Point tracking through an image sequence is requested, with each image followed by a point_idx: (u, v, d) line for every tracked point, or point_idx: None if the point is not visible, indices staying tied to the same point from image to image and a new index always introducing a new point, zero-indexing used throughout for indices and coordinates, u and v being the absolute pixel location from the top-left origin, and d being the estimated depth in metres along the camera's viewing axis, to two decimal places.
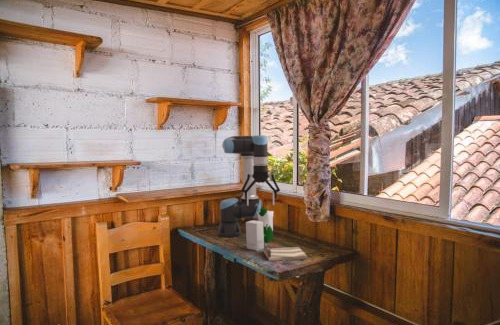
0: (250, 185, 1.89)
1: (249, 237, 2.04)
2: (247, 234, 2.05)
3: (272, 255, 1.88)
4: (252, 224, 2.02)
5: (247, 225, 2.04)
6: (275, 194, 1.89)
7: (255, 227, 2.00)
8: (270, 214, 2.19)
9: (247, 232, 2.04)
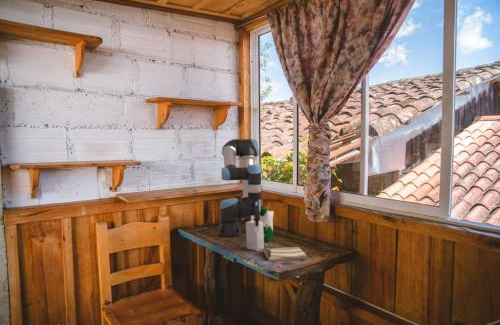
0: (251, 209, 2.09)
1: (249, 237, 2.04)
2: (247, 234, 2.05)
3: (272, 255, 1.88)
4: (252, 224, 2.02)
5: (247, 225, 2.04)
6: (255, 222, 1.96)
7: None
8: (270, 214, 2.19)
9: (247, 232, 2.04)
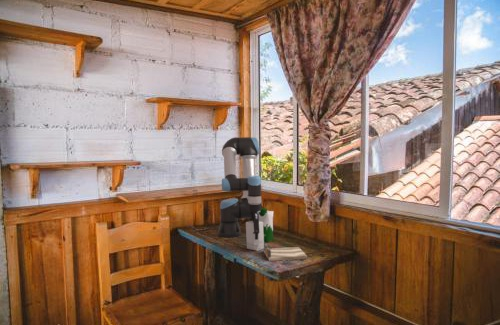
0: None
1: (249, 237, 2.04)
2: (247, 234, 2.05)
3: (272, 255, 1.88)
4: (252, 224, 2.02)
5: (247, 225, 2.04)
6: (255, 235, 1.99)
7: None
8: (270, 214, 2.19)
9: (247, 232, 2.04)
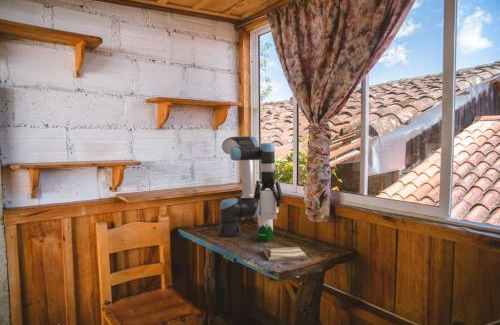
0: None
1: (266, 207, 1.94)
2: (264, 204, 1.94)
3: (272, 255, 1.88)
4: (271, 192, 1.94)
5: (264, 194, 1.93)
6: (277, 202, 1.93)
7: None
8: None
9: (264, 202, 1.93)
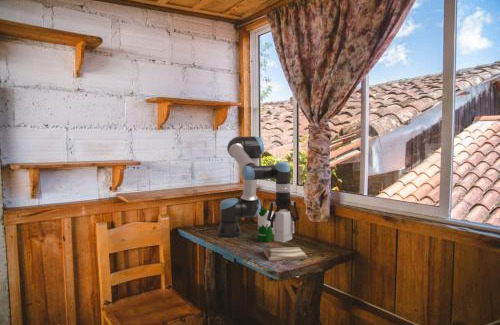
0: None
1: (286, 228, 1.88)
2: (284, 226, 1.87)
3: (272, 255, 1.88)
4: (289, 213, 1.90)
5: (285, 216, 1.87)
6: (295, 222, 1.91)
7: None
8: None
9: (284, 224, 1.87)
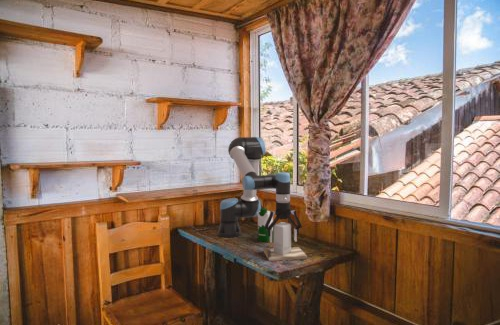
0: (273, 222, 1.89)
1: (286, 241, 1.89)
2: (284, 239, 1.88)
3: (272, 255, 1.88)
4: (288, 226, 1.90)
5: (284, 229, 1.87)
6: (297, 230, 1.92)
7: (290, 228, 1.92)
8: None
9: (284, 237, 1.88)
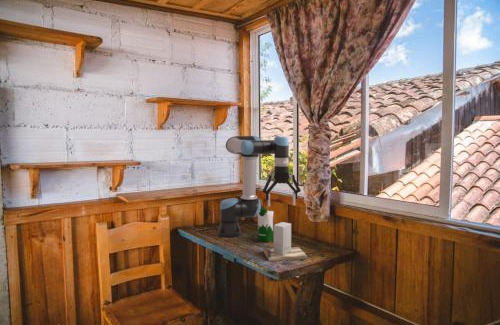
0: (272, 186, 1.89)
1: (286, 241, 1.89)
2: (284, 239, 1.88)
3: (272, 255, 1.88)
4: (288, 226, 1.90)
5: (284, 229, 1.87)
6: (296, 194, 1.92)
7: (290, 228, 1.92)
8: (270, 214, 2.19)
9: (284, 237, 1.88)
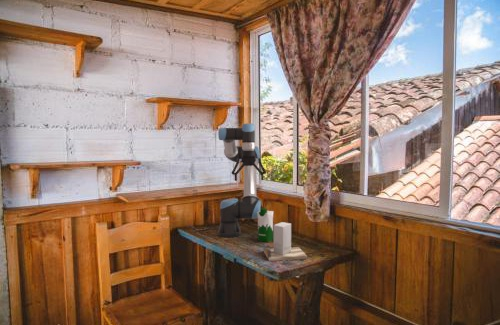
0: (239, 168, 2.10)
1: (286, 241, 1.89)
2: (284, 239, 1.88)
3: (272, 255, 1.88)
4: (288, 226, 1.90)
5: (284, 229, 1.87)
6: (262, 176, 2.12)
7: (290, 228, 1.92)
8: (270, 214, 2.19)
9: (284, 237, 1.88)
